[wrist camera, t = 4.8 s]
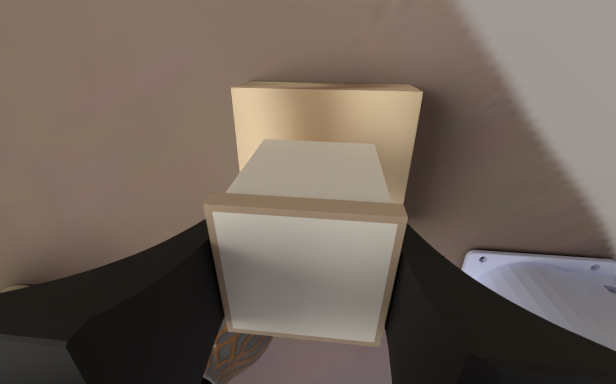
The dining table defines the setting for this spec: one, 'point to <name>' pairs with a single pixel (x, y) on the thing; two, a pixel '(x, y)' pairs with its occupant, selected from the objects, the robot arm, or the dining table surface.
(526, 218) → the dining table surface
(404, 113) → the block
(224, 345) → the vase
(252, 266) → the framed cream cube
